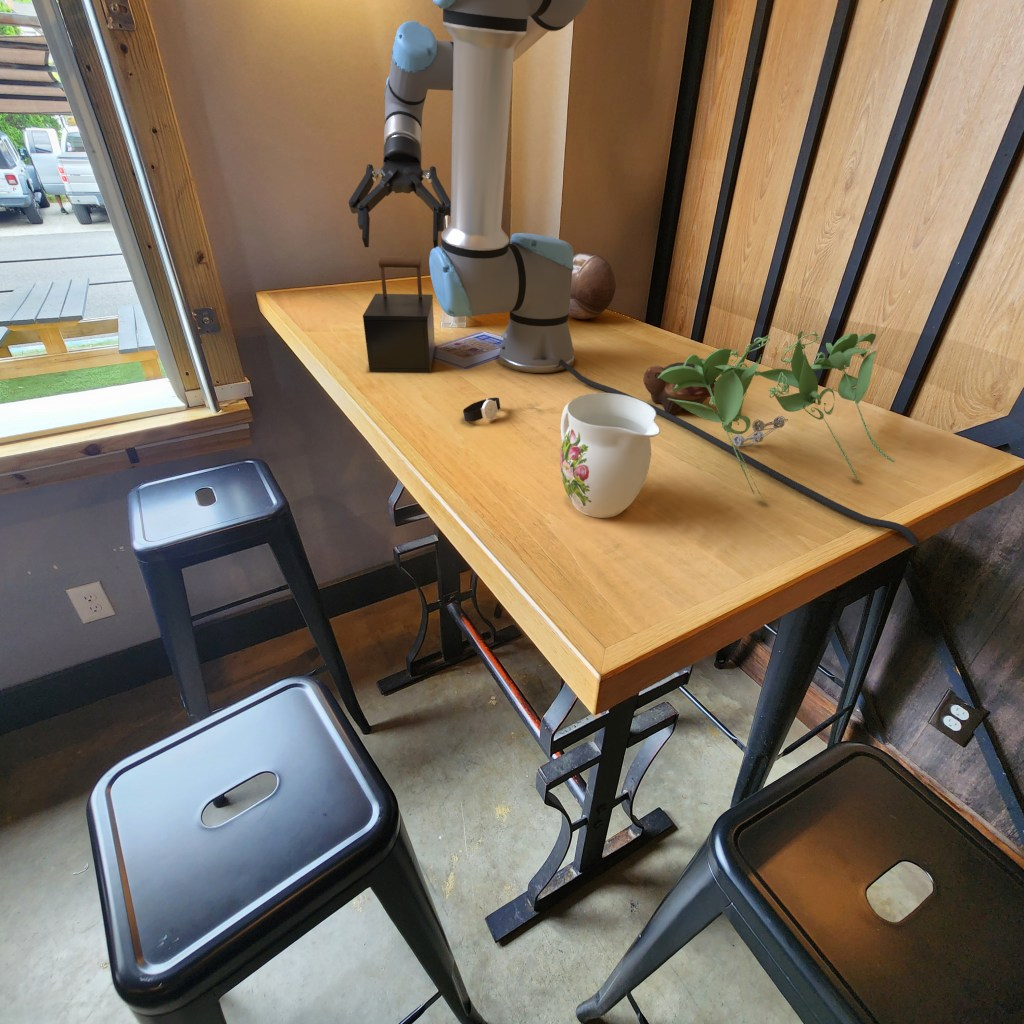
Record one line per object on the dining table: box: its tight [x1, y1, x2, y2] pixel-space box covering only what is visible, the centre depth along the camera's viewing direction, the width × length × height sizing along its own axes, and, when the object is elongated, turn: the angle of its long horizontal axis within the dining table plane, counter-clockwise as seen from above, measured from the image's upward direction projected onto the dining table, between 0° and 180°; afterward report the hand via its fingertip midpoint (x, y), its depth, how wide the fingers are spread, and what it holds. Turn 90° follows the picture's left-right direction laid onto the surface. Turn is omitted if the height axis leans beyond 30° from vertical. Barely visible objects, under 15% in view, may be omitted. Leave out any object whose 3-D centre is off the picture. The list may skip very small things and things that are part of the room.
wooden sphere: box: [568, 252, 617, 320], centre depth 138 cm, size 15×15×15 cm
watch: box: [462, 397, 501, 423], centre depth 93 cm, size 8×5×4 cm, turn 143°
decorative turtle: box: [642, 361, 717, 415], centre depth 97 cm, size 10×15×8 cm, turn 111°
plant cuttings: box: [658, 330, 896, 501], centre depth 80 cm, size 35×17×22 cm
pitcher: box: [559, 392, 661, 519], centre depth 71 cm, size 11×18×14 cm, turn 27°
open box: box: [362, 300, 436, 373], centre depth 112 cm, size 15×12×10 cm
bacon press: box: [362, 255, 434, 321], centre depth 107 cm, size 15×12×8 cm
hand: (400, 243), depth 111 cm, fingers open, 13 cm apart
